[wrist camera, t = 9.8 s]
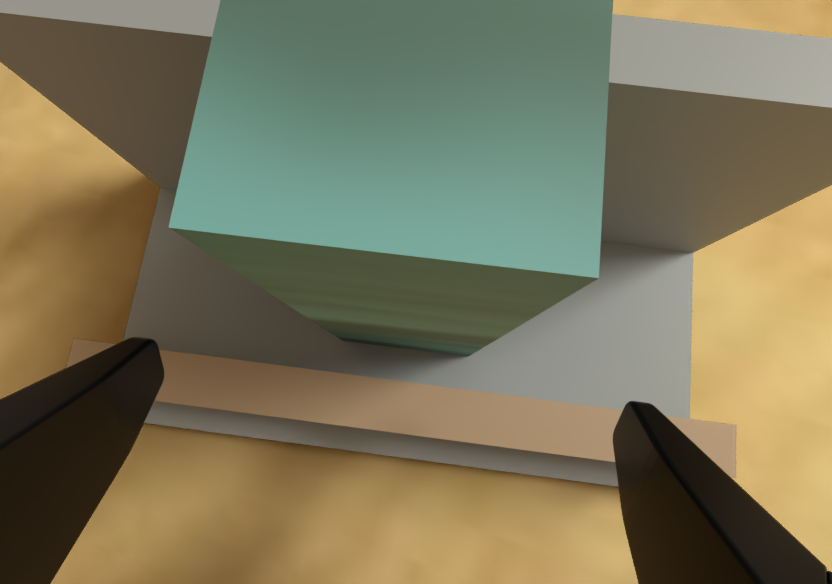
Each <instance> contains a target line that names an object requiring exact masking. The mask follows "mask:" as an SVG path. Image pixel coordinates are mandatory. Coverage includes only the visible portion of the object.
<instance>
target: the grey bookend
mask: <svg viewBox="0 0 832 584" xmlns="http://www.w3.org/2000/svg"><path fill="white" fill-rule="evenodd" d="M219 4H220V0H0V62H1V63H3V64H4V65H5V66H6V67H8V68H9V69H10V70H12V71H13V72H14V73H15V74H17V75H18V76H19V77H20V78H22V79H23V80H24V81H26V82H27V83H28V84H29V85H31V86H32V87H33V88H34V89H36V90H37V91H38V92H40V93H41V94H42V95H43V96H45V97H46V98H47V99H48V100H50V101H51V102H52V103H54V104H55V105H56V106H57V107H59V108H60V109H61V110H62V111H64V112H65V113H66V114H68V115H69V116H70V117H71V118H73V119H74V120H75V121H76V122H78V123H79V124H80V125H82V126H83V127H84V128H85V129H87V130H88V131H89V132H90V133H92V134H93V135H94V136H96V137H97V138H98V139H99V140H101V141H102V142H103V143H104V144H106V145H107V146H108V147H110V148H111V149H112V150H113V151H115V152H116V153H117V154H118V155H120V156H121V157H122V158H124V159H125V160H126V161H127V162H129V163H130V164H131V165H132V166H134V167H135V168H136V169H138V170H139V171H140V172H141V173H143V174H144V175H145V176H146V177H148V178H149V179H150V180H152V181H153V182H154V183H155V184H157V185H158V186H159V187H160V191H159V195H158V199H157V204H156V208H155V212H154V216H153V220H152V224H151V228H150V232H149V236H148V240H147V245H146V249H145V253H144V257H143V261H142V265H141V269H140V273H139V277H138V282H137V286H136V290H135V294H134V298H133V302H132V306H131V310H130V314H129V319H128V323H127V327H126V331H125V335H124V339H123V341H124V340H126V339H128V338H131V337H142V338H150V339H153V340H155V341H156V342H157V344H158V347H159V351H160V355H161V359H162V363H163V367H164V380H163V383H162V386H161V388H160V390H159V392H158V394H157V396H156V398H155V401H154V403H153V405H152V407H151V409H150V411H149V413H148V415H147V418H146V420H145V422H144V423H148V424H156V425H163V426H171V427H178V428H186V429H193V430H201V431H208V432H215V433H223V434H230V435H238V436H245V437H253V438H260V439H267V440H275V441H282V442H290V443H297V444H305V445H312V446H320V447H327V448H334V449H342V450H349V451H357V452H364V453H372V454H379V455H386V456H394V457H401V458H409V459H416V460H424V461H431V462H439V463H446V464H453V465H461V466H468V467H476V468H483V469H491V470H498V471H505V472H513V473H520V474H528V475H535V476H543V477H550V478H557V479H565V480H572V481H580V482H587V483H595V484H602V485H610V486H617V487H618V479H617V472H616V464H615V456H614V449H613V432H614V429H615V426H616V424H617V422H618V420H619V418H620V415H621V413H622V411H623V409H624V407H625V405H626V404H627V403H628V402H629V401H638V402H646V403H650V404H652V405H654V406H655V407H656V408H657V409H658V410H659V411H661V412H662V413H663V414H664V415H665V416H666V417H667V418H668V419H669V420H670V421H671V422H672V423H673V424H674V425H675V426H677V427H678V428H679V429H680V430H681V431H682V432H683V433H684V434H685V435H686V436H687V437H688V438H689V439H690V440H691V441H693V442H694V443H695V444H696V445H697V446H698V447H699V448H700V449H701V450H702V451H703V452H704V453H705V454H706V455H707V456H709V457H710V458H711V459H712V460H713V461H714V462H715V463H716V464H717V465H718V466H719V467H720V468H721V469H722V470H723V471H725V472H726V473H727V474H728V475H729V476H730V477H731V478H736V425H733V424H725V423H718V422H710V421H702V420H695V419H690V380H691V330H692V281H693V252H695V251H697V250H699V249H702V248H704V247H706V246H708V245H710V244H712V243H714V242H716V241H718V240H720V239H722V238H724V237H726V236H728V235H730V234H732V233H734V232H736V231H738V230H740V229H742V228H744V227H746V226H749V225H751V224H753V223H755V222H757V221H759V220H761V219H763V218H765V217H767V216H769V215H771V214H773V213H775V212H777V211H779V210H781V209H783V208H785V207H787V206H789V205H791V204H793V203H796V202H798V201H800V200H802V199H804V198H806V197H808V196H810V195H812V194H814V193H816V192H818V191H820V190H822V189H824V188H826V187H828V186H830V185H832V38H823V37H814V36H805V35H796V34H786V33H777V32H768V31H759V30H750V29H741V28H732V27H723V26H714V25H705V24H696V23H687V22H678V21H669V20H660V19H651V18H642V17H633V16H624V15H615V14H612V30H611V49H610V69H609V89H608V108H607V128H606V148H605V167H604V187H603V207H602V226H601V246H600V266H599V278H598V279H597V280H595V281H593V282H592V283H590V284H588V285H587V286H585V287H583V288H582V289H580V290H578V291H577V292H575V293H573V294H572V295H570V296H568V297H567V298H565V299H563V300H562V301H560V302H558V303H557V304H555V305H553V306H552V307H550V308H548V309H547V310H545V311H543V312H542V313H540V314H539V315H537V316H535V317H534V318H532V319H530V320H529V321H527V322H525V323H524V324H522V325H520V326H519V327H517V328H515V329H514V330H512V331H510V332H509V333H507V334H505V335H504V336H502V337H500V338H499V339H497V340H495V341H494V342H492V343H490V344H489V345H487V346H485V347H484V348H482V349H480V350H479V351H477V352H475V353H474V354H472V355H470V356H463V355H455V354H446V353H438V352H430V351H422V350H414V349H405V348H397V347H389V346H381V345H373V344H364V343H356V342H348V341H342V340H341V339H339V338H338V337H336V336H335V335H333V334H332V333H330V332H328V331H327V330H325V329H324V328H322V327H321V326H319V325H318V324H316V323H315V322H313V321H312V320H310V319H308V318H307V317H305V316H304V315H302V314H301V313H299V312H298V311H296V310H295V309H293V308H292V307H290V306H288V305H287V304H285V303H284V302H282V301H281V300H279V299H278V298H276V297H275V296H273V295H272V294H270V293H268V292H267V291H265V290H264V289H262V288H261V287H259V286H258V285H256V284H255V283H253V282H251V281H250V280H248V279H247V278H245V277H244V276H242V275H241V274H239V273H238V272H236V271H235V270H233V269H231V268H230V267H228V266H227V265H225V264H224V263H222V262H221V261H219V260H218V259H216V258H215V257H213V256H211V255H210V254H208V253H207V252H205V251H204V250H202V249H201V248H199V247H198V246H196V245H195V244H193V243H191V242H190V241H188V240H187V239H185V238H184V237H182V236H181V235H179V234H178V233H176V232H175V231H173V230H171V229H170V228H168V227H169V223H170V218H171V214H172V210H173V205H174V201H175V197H176V192H177V188H178V183H179V179H180V175H181V170H182V166H183V162H184V157H185V153H186V149H187V144H188V140H189V135H190V131H191V127H192V122H193V118H194V114H195V109H196V105H197V101H198V96H199V92H200V87H201V83H202V79H203V74H204V70H205V66H206V61H207V57H208V52H209V48H210V44H211V39H212V35H213V31H214V26H215V22H216V18H217V13H218V9H219ZM113 345H115V344H113V343H105V342H98V341H90V340H82V339H75V338H74V339H73V342H72V346H71V350H70V354H69V358H68V361H67V365H66V368H67V367H69V366H71V365H74V364H76V363H78V362H80V361H82V360H84V359H86V358H88V357H90V356H92V355H95V354H97V353H99V352H101V351H103V350H105V349H107V348H109V347H111V346H113Z"/></svg>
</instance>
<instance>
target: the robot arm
mask: <svg viewBox="0 0 832 584" xmlns="http://www.w3.org/2000/svg"><path fill="white" fill-rule="evenodd" d="M163 380H164V367H163V363H162V359H161V355H160V351H159V347H158V344H157V342H156V341H155V340H153V339H150V338H142V337H131V338H128V339H126V340H124V341H122V342H120V343H118V344H115V345H113V346H111V347H109V348H107V349H105V350H103V351H101V352H99V353H97V354H95V355H92V356H90V357H88V358H86V359H84V360H82V361H80V362H78V363H76V364H74V365H71V366H69V367H67V368H65V369H63V370H61V371H59V372H57V373H55V374H53V375H51V376H48V377H46V378H44V379H42V380H40V381H38V382H36V383H34V384H32V385H30V386H28V387H25V388H23V389H21V390H19V391H17V392H15V393H13V394H11V395H9V396H7V397H4V398H2V399H0V584H50V583H51V582H52V580H53V578H54V577H55V575H56V573H57V572H58V570H59V569H60V567H61V565H62V564H63V562H64V560H65V559H66V557H67V555H68V554H69V552H70V550H71V549H72V547H73V545H74V544H75V542H76V541H77V539H78V537H79V536H80V534H81V532H82V531H83V529H84V527H85V526H86V524H87V522H88V521H89V519H90V518H91V516H92V514H93V513H94V511H95V509H96V508H97V506H98V504H99V503H100V501H101V499H102V498H103V496H104V495H105V493H106V491H107V490H108V488H109V486H110V485H111V483H112V481H113V480H114V478H115V476H116V475H117V473H118V471H119V470H120V468H121V467H122V465H123V463H124V461H125V460H126V458H127V456H128V455H129V453H130V451H131V449H132V447H133V445H134V443H135V441H136V439H137V437H138V435H139V432H140V430H141V428H142V426H143V424H144V422H145V420H146V418H147V415H148V413H149V411H150V409H151V407H152V405H153V403H154V401H155V398H156V396H157V394H158V392H159V390H160V388H161V386H162V383H163ZM613 449H614V456H615V464H616V472H617V479H618V487H619V494H620V502H621V509H622V515H623V521H624V526H625V530H626V535H627V539H628V543H629V547H630V551H631V555H632V559H633V563H634V567H635V571H636V575H637V579H638V583H639V584H832V572H831V571H827V569H826V566H825V565H824V564H823V563H822V562H820V561H819V560H818V559H817V558H816V557H815V556H814V555H813V554H812V553H811V552H810V551H809V550H808V549H807V548H806V547H804V546H803V545H802V544H801V543H800V542H799V541H798V540H797V539H796V538H795V537H794V536H793V535H792V534H791V533H790V532H788V531H787V530H786V529H785V528H784V527H783V526H782V525H781V524H780V523H779V522H778V521H777V520H776V519H775V518H774V517H772V516H771V515H770V514H769V513H768V512H767V511H766V510H765V509H764V508H763V507H762V506H761V505H760V504H759V503H758V502H756V501H755V500H754V499H753V498H752V497H751V496H750V495H749V494H748V493H747V492H746V491H745V490H744V489H743V488H742V487H740V486H739V485H738V484H737V483H736V482H735V481H734V480H733V479H732V478H731V477H730V476H729V475H728V474H727V473H726V472H725V471H723V470H722V469H721V468H720V467H719V466H718V465H717V464H716V463H715V462H714V461H713V460H712V459H711V458H710V457H709V456H707V455H706V454H705V453H704V452H703V451H702V450H701V449H700V448H699V447H698V446H697V445H696V444H695V443H694V442H693V441H691V440H690V439H689V438H688V437H687V436H686V435H685V434H684V433H683V432H682V431H681V430H680V429H679V428H678V427H677V426H675V425H674V424H673V423H672V422H671V421H670V420H669V419H668V418H667V417H666V416H665V415H664V414H663V413H662V412H661V411H659V410H658V409H657V408H656V407H655V406H654V405H652V404H650V403H646V402H638V401H629V402H628V403H627V404H626V405H625V407H624V409H623V411H622V413H621V415H620V418H619V420H618V422H617V424H616V426H615V429H614V432H613Z"/></svg>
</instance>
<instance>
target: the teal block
mask: <svg viewBox="0 0 832 584" xmlns="http://www.w3.org/2000/svg"><path fill="white" fill-rule="evenodd" d="M612 10H613V0H220V4H219V9H218V13H217V18H216V22H215V26H214V31H213V35H212V39H211V44H210V48H209V52H208V57H207V61H206V66H205V70H204V74H203V79H202V83H201V87H200V92H199V96H198V101H197V105H196V109H195V114H194V118H193V122H192V127H191V131H190V135H189V140H188V144H187V149H186V153H185V157H184V162H183V166H182V170H181V175H180V179H179V183H178V188H177V192H176V197H175V201H174V205H173V210H172V214H171V218H170V223H169V227H168V228H170V229H171V230H173V231H175V232H176V233H178V234H179V235H181V236H182V237H184V238H185V239H187V240H188V241H190V242H191V243H193V244H195V245H196V246H198V247H199V248H201V249H202V250H204V251H205V252H207V253H208V254H210V255H211V256H213V257H215V258H216V259H218V260H219V261H221V262H222V263H224V264H225V265H227V266H228V267H230V268H231V269H233V270H235V271H236V272H238V273H239V274H241V275H242V276H244V277H245V278H247V279H248V280H250V281H251V282H253V283H255V284H256V285H258V286H259V287H261V288H262V289H264V290H265V291H267V292H268V293H270V294H272V295H273V296H275V297H276V298H278V299H279V300H281V301H282V302H284V303H285V304H287V305H288V306H290V307H292V308H293V309H295V310H296V311H298V312H299V313H301V314H302V315H304V316H305V317H307V318H308V319H310V320H312V321H313V322H315V323H316V324H318V325H319V326H321V327H322V328H324V329H325V330H327V331H328V332H330V333H332V334H333V335H335V336H336V337H338V338H339V339H341V340H342V341H348V342H356V343H364V344H373V345H381V346H389V347H397V348H405V349H414V350H422V351H430V352H438V353H446V354H455V355H463V356H470V355H472V354H474V353H475V352H477V351H479V350H480V349H482V348H484V347H485V346H487V345H489V344H490V343H492V342H494V341H495V340H497V339H499V338H500V337H502V336H504V335H505V334H507V333H509V332H510V331H512V330H514V329H515V328H517V327H519V326H520V325H522V324H524V323H525V322H527V321H529V320H530V319H532V318H534V317H535V316H537V315H539V314H540V313H542V312H543V311H545V310H547V309H548V308H550V307H552V306H553V305H555V304H557V303H558V302H560V301H562V300H563V299H565V298H567V297H568V296H570V295H572V294H573V293H575V292H577V291H578V290H580V289H582V288H583V287H585V286H587V285H588V284H590V283H592V282H593V281H595V280H597V279H598V278H599V266H600V246H601V226H602V207H603V187H604V167H605V148H606V128H607V108H608V89H609V69H610V49H611V30H612Z"/></svg>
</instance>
